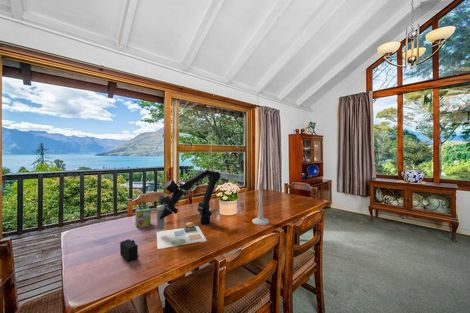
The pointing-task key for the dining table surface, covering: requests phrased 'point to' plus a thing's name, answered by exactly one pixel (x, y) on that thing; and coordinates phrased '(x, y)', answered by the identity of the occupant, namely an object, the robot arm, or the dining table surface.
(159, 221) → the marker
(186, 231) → the button housing
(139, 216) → the chalk box
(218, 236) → the dining table surface
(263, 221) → the candlestick
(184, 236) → the colouring board
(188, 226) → the button
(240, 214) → the dining table surface
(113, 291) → the dining table surface
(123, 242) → the digital camera
